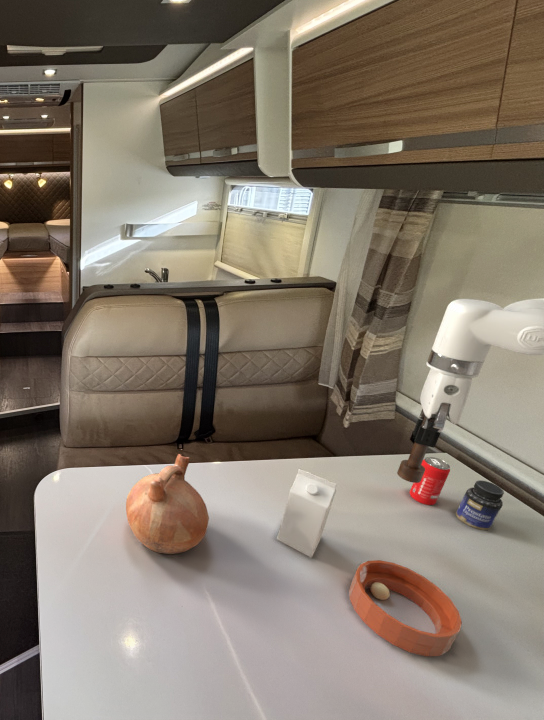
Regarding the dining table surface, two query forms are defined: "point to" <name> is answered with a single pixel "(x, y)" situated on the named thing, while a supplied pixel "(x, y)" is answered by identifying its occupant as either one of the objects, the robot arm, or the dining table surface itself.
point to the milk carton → (306, 512)
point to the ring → (415, 590)
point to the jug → (167, 510)
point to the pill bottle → (480, 505)
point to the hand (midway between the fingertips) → (423, 440)
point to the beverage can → (430, 481)
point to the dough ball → (379, 590)
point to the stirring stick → (413, 463)
